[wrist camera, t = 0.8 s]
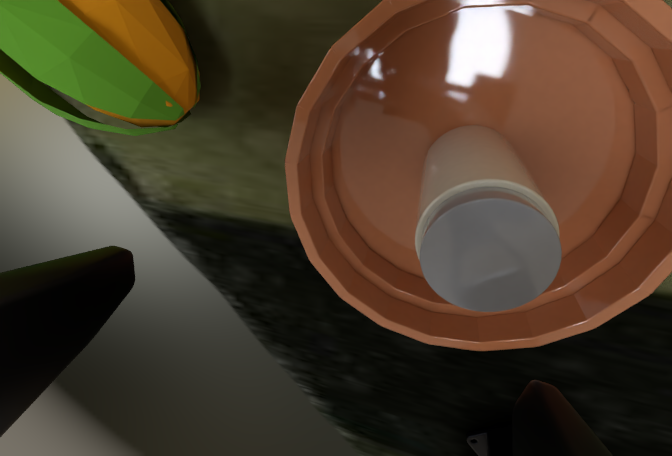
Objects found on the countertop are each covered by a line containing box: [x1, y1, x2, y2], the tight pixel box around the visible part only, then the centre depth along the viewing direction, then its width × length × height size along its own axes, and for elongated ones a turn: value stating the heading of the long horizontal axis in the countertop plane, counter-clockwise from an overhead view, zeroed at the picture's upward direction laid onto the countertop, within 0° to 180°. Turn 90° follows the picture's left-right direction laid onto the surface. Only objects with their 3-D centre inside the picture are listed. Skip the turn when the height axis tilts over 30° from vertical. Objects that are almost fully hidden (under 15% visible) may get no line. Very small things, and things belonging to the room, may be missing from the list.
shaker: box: [415, 125, 562, 312], centre depth 15 cm, size 4×4×8 cm
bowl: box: [285, 0, 672, 351], centre depth 17 cm, size 16×16×4 cm
